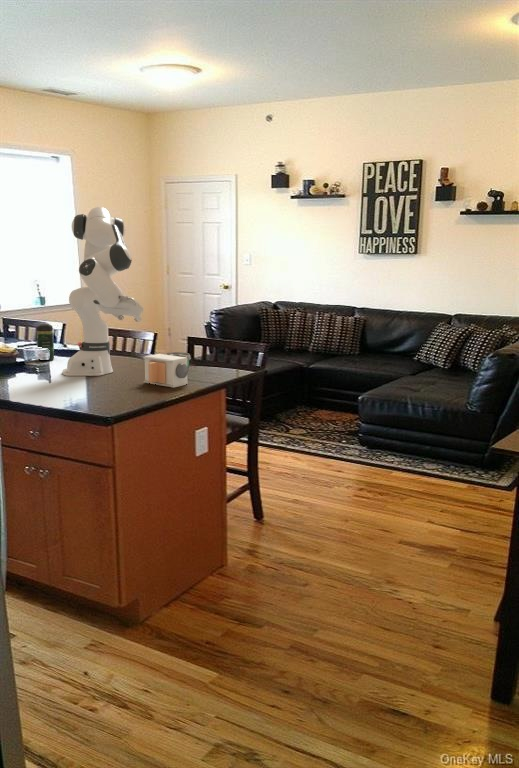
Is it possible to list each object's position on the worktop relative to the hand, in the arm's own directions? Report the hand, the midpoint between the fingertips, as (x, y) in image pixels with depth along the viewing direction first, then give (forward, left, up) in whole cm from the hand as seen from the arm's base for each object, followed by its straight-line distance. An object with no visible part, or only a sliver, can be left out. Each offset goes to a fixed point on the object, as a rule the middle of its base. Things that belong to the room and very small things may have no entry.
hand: (130, 319), depth 254 cm
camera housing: (+16, +12, -29) cm, 35 cm away
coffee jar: (-32, +85, -29) cm, 95 cm away
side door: (+10, +8, -27) cm, 30 cm away
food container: (+26, +30, -29) cm, 49 cm away
